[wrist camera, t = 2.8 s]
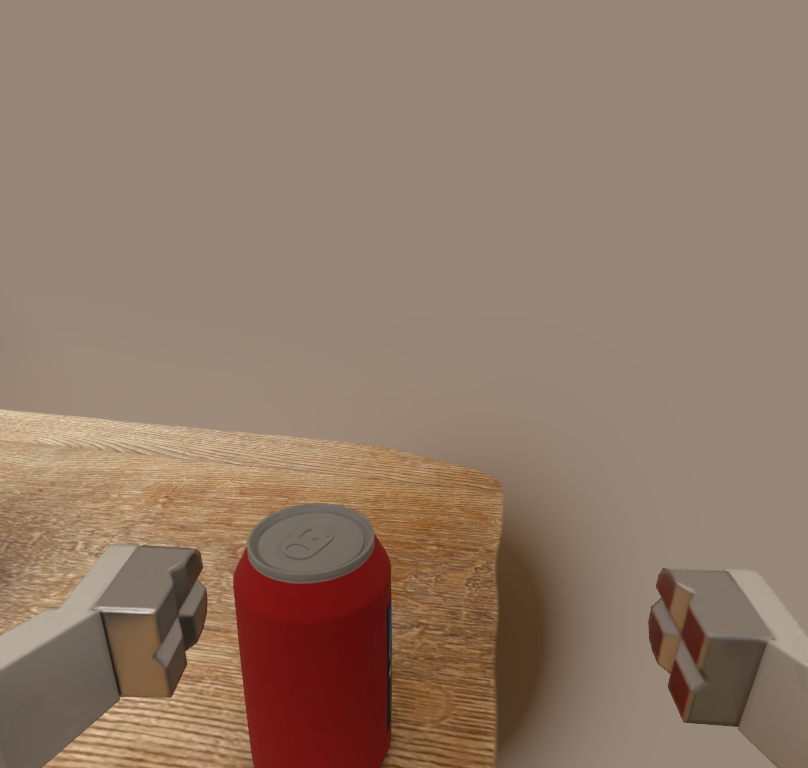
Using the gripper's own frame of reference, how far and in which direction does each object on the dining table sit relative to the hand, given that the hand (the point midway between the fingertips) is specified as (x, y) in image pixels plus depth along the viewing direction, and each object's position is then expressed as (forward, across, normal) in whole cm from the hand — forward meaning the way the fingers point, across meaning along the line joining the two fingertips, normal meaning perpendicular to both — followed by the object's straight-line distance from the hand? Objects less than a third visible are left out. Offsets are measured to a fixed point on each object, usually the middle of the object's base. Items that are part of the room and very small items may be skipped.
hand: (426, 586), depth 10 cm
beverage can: (+11, +4, +20) cm, 24 cm away
